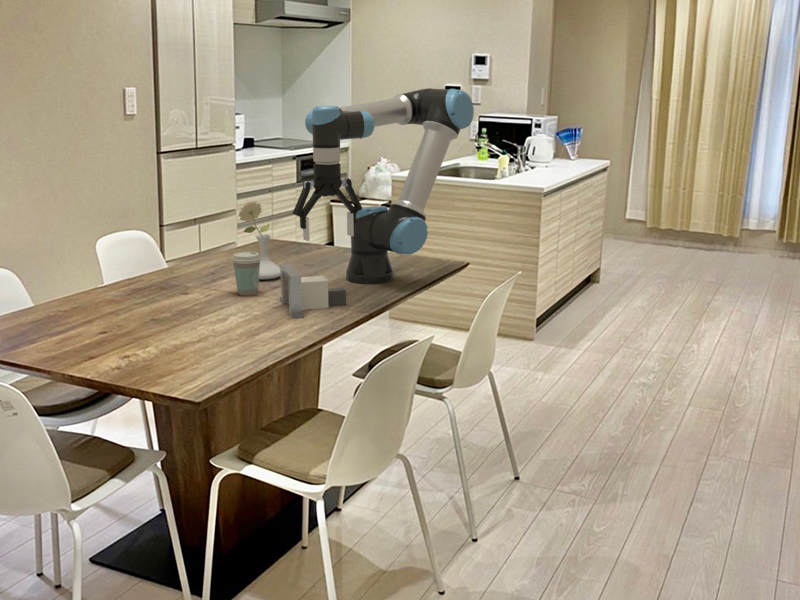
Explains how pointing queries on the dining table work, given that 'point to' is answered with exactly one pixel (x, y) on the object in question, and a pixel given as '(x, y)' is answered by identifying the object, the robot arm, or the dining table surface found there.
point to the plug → (320, 293)
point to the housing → (291, 289)
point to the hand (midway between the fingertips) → (328, 237)
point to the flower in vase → (260, 240)
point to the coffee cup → (247, 272)
